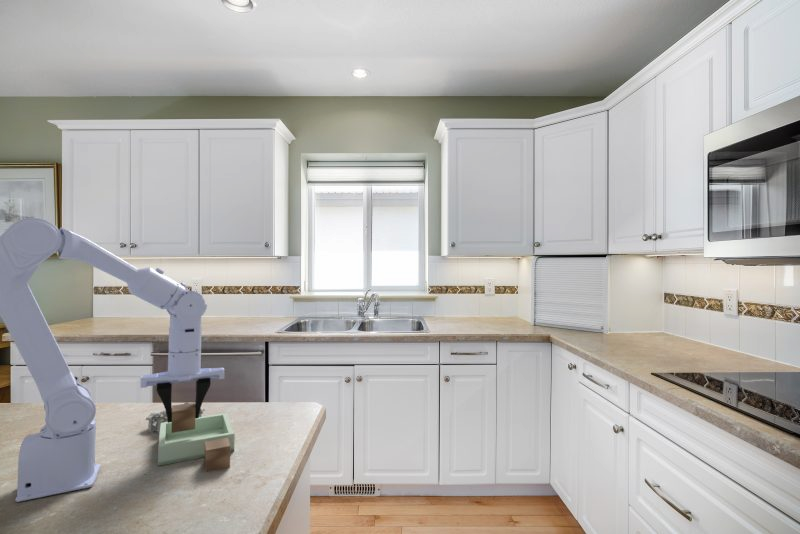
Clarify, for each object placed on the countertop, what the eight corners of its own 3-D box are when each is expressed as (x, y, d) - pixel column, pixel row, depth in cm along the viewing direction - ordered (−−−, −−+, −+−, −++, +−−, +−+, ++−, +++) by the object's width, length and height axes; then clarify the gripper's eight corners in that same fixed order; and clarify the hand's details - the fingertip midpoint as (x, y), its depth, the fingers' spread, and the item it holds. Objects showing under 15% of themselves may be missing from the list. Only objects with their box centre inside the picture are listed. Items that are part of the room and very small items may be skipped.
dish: (157, 466, 72) (158, 446, 72) (160, 439, 83) (160, 422, 83) (234, 451, 78) (234, 433, 78) (226, 428, 90) (227, 412, 90)
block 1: (171, 432, 75) (171, 411, 75) (171, 425, 78) (172, 405, 78) (195, 429, 77) (195, 408, 77) (194, 422, 80) (194, 402, 80)
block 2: (205, 473, 70) (206, 450, 70) (204, 463, 73) (204, 441, 74) (229, 467, 72) (230, 445, 72) (227, 458, 75) (227, 437, 76)
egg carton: (161, 437, 85) (162, 418, 85) (142, 430, 88) (142, 412, 88) (207, 421, 94) (207, 404, 94) (187, 415, 98) (188, 399, 98)
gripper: (139, 357, 71) (137, 432, 71) (226, 350, 78) (225, 419, 78) (142, 350, 77) (140, 419, 77) (223, 344, 84) (221, 408, 84)
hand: (183, 418), depth 78 cm, fingers closed on block 1, 4 cm apart
